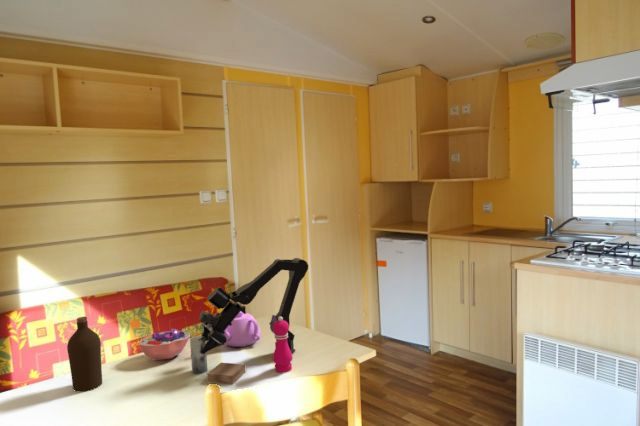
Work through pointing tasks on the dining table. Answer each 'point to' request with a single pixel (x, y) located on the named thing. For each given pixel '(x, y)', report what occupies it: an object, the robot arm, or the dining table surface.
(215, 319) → the robot arm
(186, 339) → the cell model
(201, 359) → the tea tin
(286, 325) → the pepper mill
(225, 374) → the walnut box
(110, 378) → the dining table surface
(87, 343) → the olive oil
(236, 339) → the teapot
